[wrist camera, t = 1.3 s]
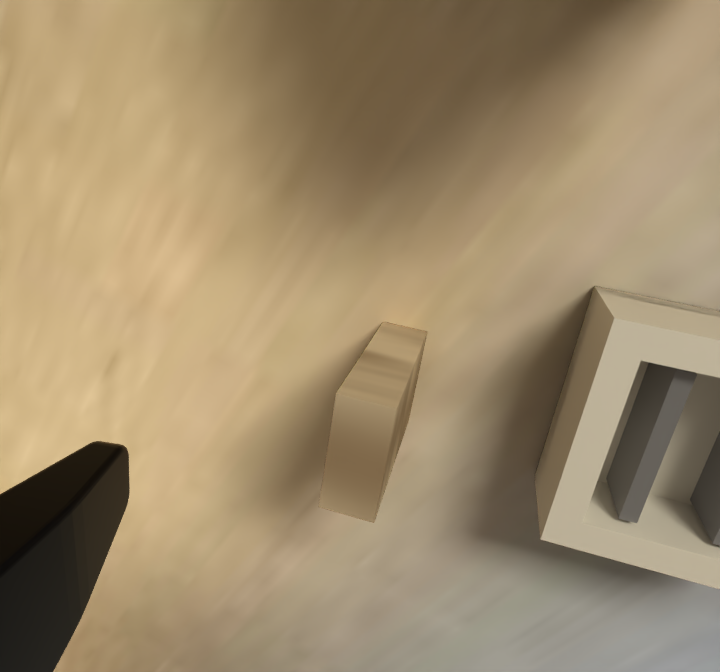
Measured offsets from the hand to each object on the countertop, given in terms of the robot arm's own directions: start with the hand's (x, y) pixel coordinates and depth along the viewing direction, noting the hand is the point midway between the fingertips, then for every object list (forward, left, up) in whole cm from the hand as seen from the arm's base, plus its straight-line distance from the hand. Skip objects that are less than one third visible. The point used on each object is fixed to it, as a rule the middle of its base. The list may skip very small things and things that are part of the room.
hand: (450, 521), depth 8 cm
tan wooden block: (-4, +2, -15) cm, 16 cm away
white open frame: (-4, -8, -15) cm, 17 cm away
